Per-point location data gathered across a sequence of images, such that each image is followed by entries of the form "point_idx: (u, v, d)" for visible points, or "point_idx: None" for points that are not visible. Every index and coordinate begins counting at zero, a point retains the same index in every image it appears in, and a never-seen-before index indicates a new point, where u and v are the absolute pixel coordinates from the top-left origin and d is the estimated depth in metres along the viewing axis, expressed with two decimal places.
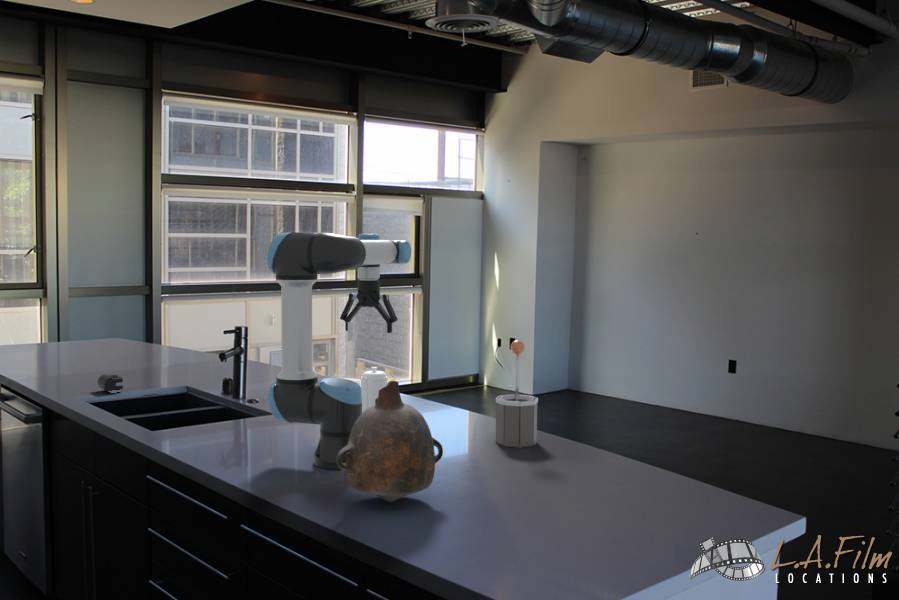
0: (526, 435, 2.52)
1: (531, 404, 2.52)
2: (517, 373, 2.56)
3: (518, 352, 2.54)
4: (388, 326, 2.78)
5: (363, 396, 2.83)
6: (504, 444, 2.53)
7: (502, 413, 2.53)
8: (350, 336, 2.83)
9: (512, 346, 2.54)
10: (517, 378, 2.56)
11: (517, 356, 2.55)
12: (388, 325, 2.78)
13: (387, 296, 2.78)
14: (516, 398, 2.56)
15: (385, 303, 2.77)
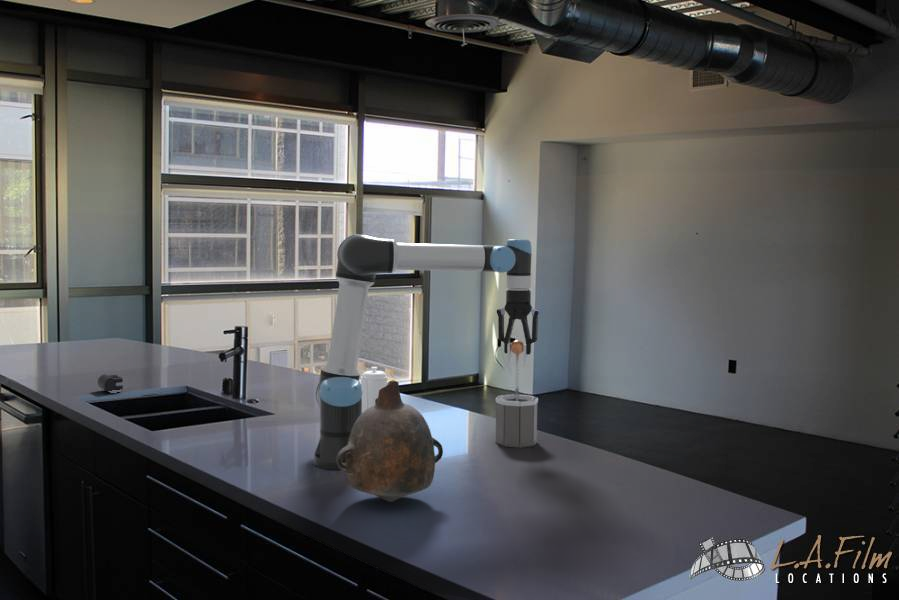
0: (526, 435, 2.52)
1: (531, 404, 2.52)
2: (517, 373, 2.56)
3: (518, 352, 2.54)
4: (527, 347, 2.54)
5: (363, 396, 2.83)
6: (504, 444, 2.53)
7: (502, 413, 2.53)
8: (510, 359, 2.56)
9: (512, 346, 2.54)
10: (517, 378, 2.56)
11: (517, 356, 2.55)
12: (527, 346, 2.54)
13: (538, 313, 2.53)
14: (516, 398, 2.56)
15: (534, 320, 2.52)
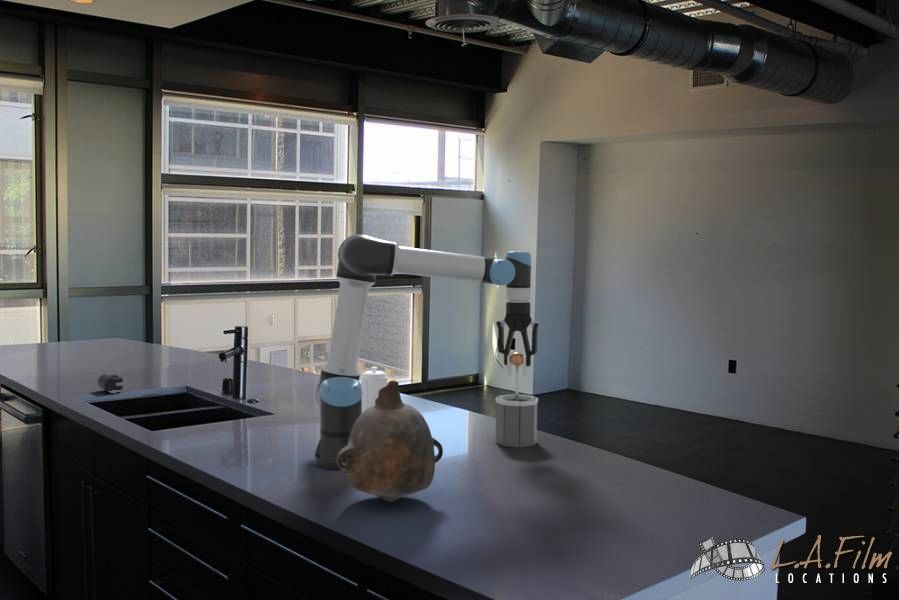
0: (526, 435, 2.52)
1: (531, 404, 2.52)
2: (517, 385, 2.56)
3: (518, 364, 2.54)
4: (527, 359, 2.54)
5: (363, 396, 2.83)
6: (504, 444, 2.53)
7: (502, 413, 2.53)
8: (509, 371, 2.56)
9: (512, 358, 2.55)
10: (517, 390, 2.56)
11: (517, 368, 2.56)
12: (527, 358, 2.54)
13: (538, 325, 2.53)
14: None
15: (533, 332, 2.52)
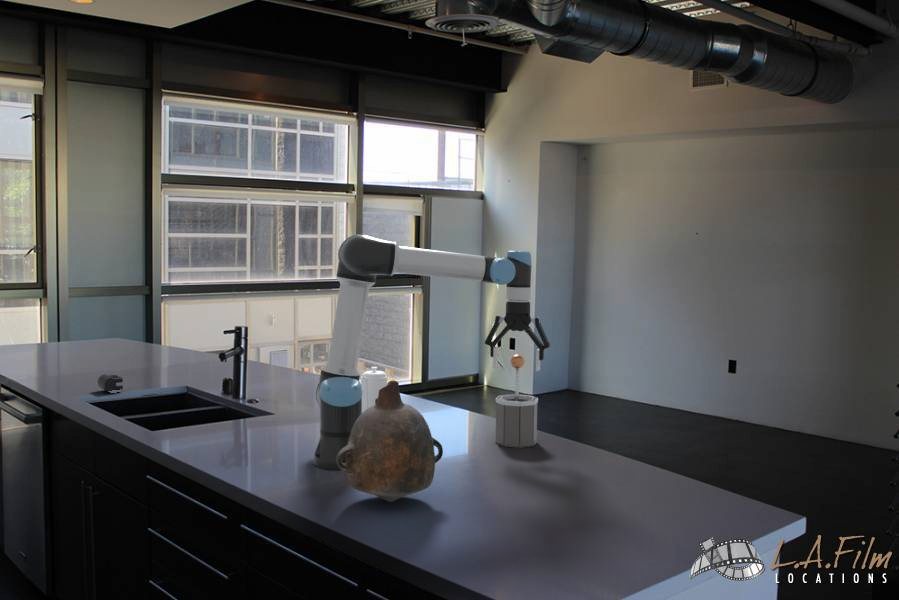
0: (526, 435, 2.52)
1: (531, 404, 2.52)
2: (517, 387, 2.56)
3: (518, 367, 2.54)
4: (540, 353, 2.53)
5: (363, 396, 2.83)
6: (504, 444, 2.53)
7: (502, 413, 2.53)
8: (496, 363, 2.57)
9: (512, 361, 2.55)
10: (517, 392, 2.56)
11: (517, 370, 2.56)
12: (540, 351, 2.53)
13: (539, 319, 2.53)
14: None
15: (537, 327, 2.52)
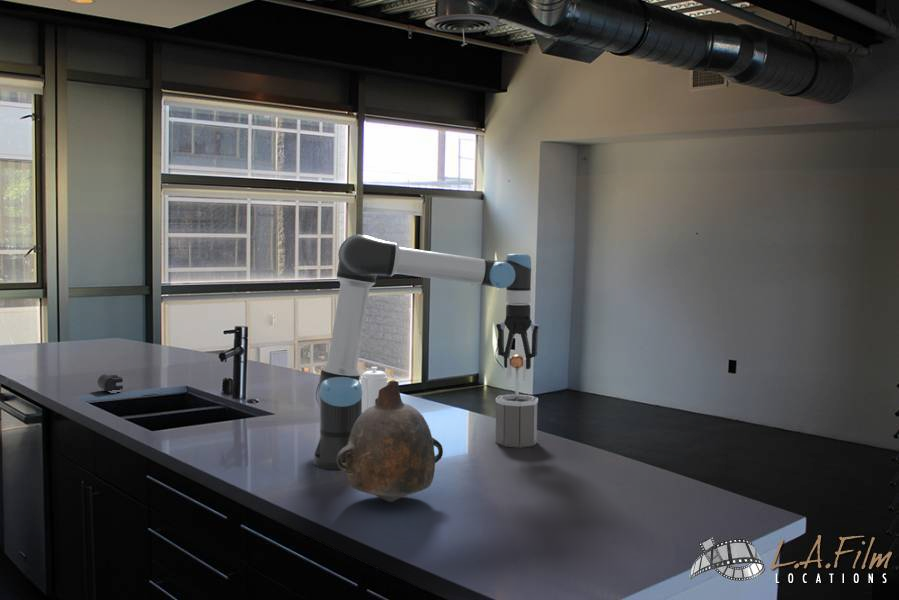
0: (526, 435, 2.52)
1: (531, 404, 2.52)
2: (517, 387, 2.56)
3: (518, 367, 2.54)
4: (527, 362, 2.54)
5: (363, 396, 2.83)
6: (504, 444, 2.53)
7: (502, 413, 2.53)
8: (509, 373, 2.56)
9: (512, 361, 2.55)
10: (517, 392, 2.56)
11: (517, 371, 2.56)
12: (527, 360, 2.54)
13: (538, 328, 2.53)
14: None
15: (533, 335, 2.52)
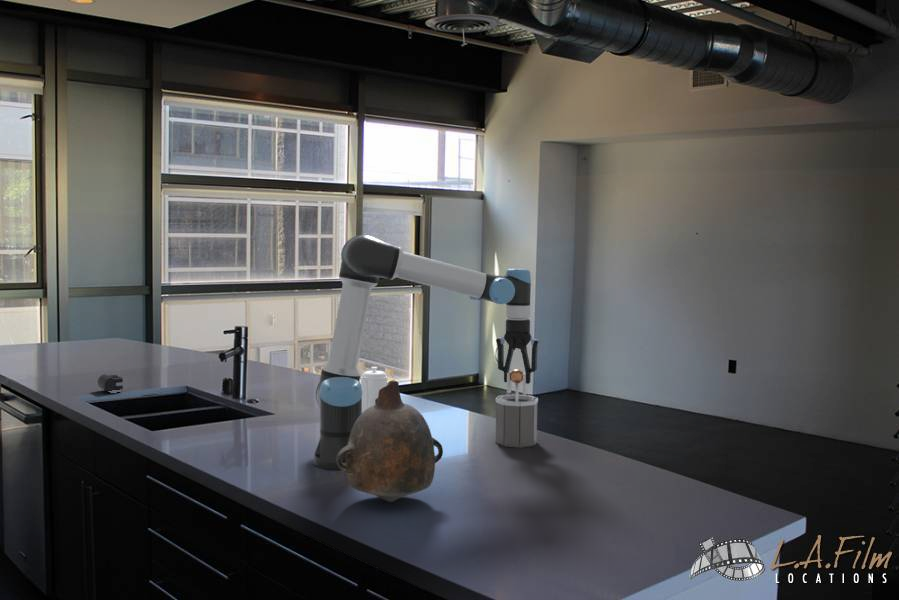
0: (526, 435, 2.52)
1: (531, 404, 2.52)
2: None
3: (518, 381, 2.55)
4: (527, 377, 2.55)
5: (363, 396, 2.83)
6: (504, 444, 2.53)
7: (502, 413, 2.53)
8: (509, 388, 2.57)
9: (512, 375, 2.55)
10: None
11: (517, 385, 2.56)
12: (527, 375, 2.55)
13: (538, 343, 2.54)
14: None
15: (533, 349, 2.53)
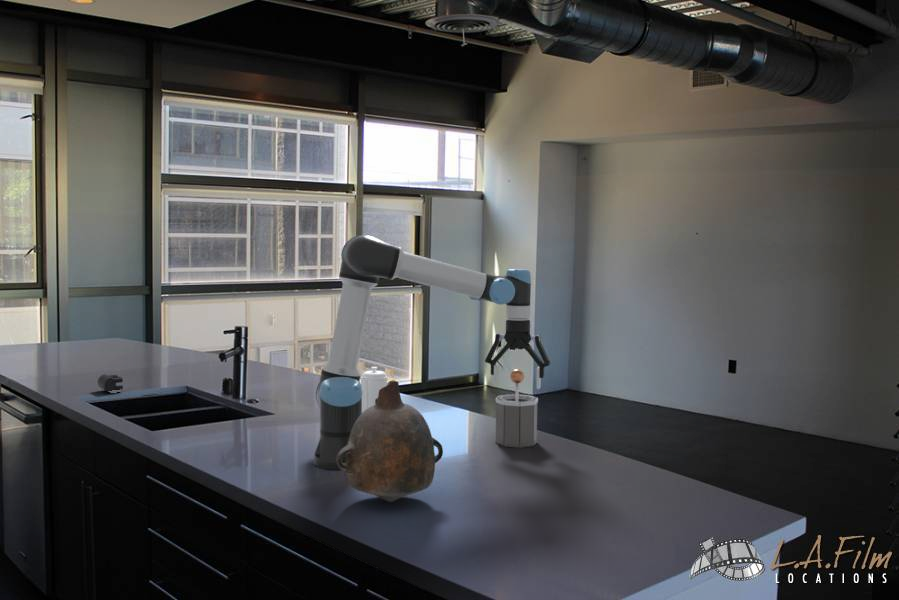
0: (526, 435, 2.52)
1: (531, 404, 2.52)
2: None
3: (518, 381, 2.55)
4: (540, 371, 2.53)
5: (363, 396, 2.83)
6: (504, 444, 2.53)
7: (502, 413, 2.53)
8: (496, 381, 2.58)
9: (512, 375, 2.55)
10: None
11: (517, 385, 2.56)
12: (540, 369, 2.53)
13: (539, 337, 2.53)
14: None
15: (538, 345, 2.52)
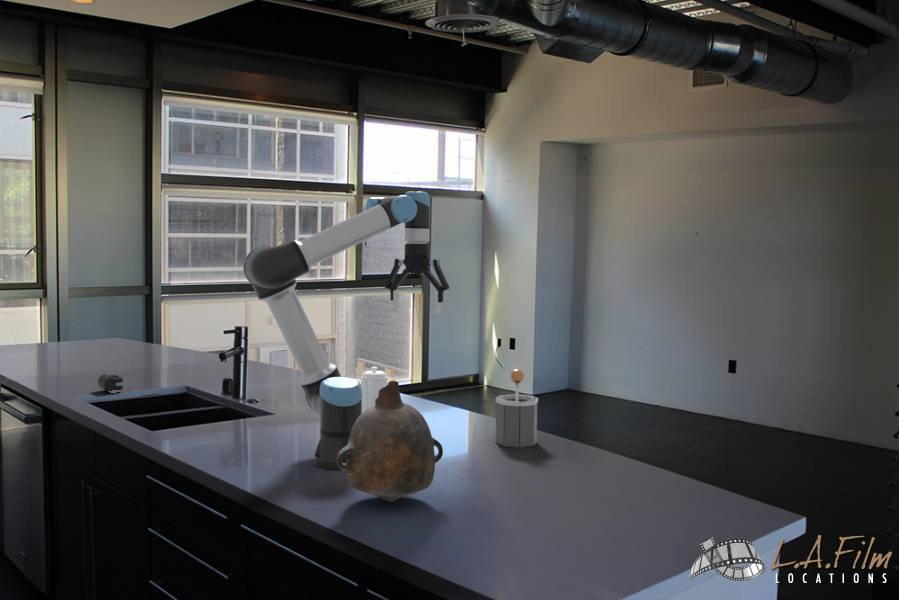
0: (526, 435, 2.52)
1: (531, 404, 2.52)
2: None
3: (518, 381, 2.55)
4: (439, 295, 2.49)
5: (363, 396, 2.83)
6: (504, 444, 2.53)
7: (502, 413, 2.53)
8: (396, 306, 2.54)
9: (512, 375, 2.55)
10: None
11: (517, 385, 2.56)
12: (439, 294, 2.49)
13: (438, 261, 2.49)
14: None
15: (436, 269, 2.48)
